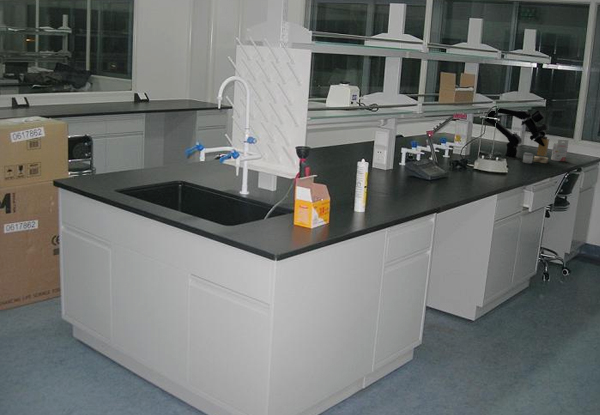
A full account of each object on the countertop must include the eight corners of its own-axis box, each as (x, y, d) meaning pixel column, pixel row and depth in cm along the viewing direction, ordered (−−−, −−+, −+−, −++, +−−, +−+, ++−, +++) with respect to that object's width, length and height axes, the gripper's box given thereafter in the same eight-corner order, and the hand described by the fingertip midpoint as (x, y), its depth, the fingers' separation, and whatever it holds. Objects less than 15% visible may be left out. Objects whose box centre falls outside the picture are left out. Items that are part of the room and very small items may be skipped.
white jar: (522, 162, 459) (523, 153, 458) (522, 161, 465) (524, 152, 463) (531, 163, 457) (533, 154, 456) (532, 162, 463) (533, 153, 461)
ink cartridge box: (560, 159, 486) (564, 139, 482) (565, 161, 481) (569, 140, 477) (550, 159, 483) (554, 138, 480) (554, 160, 479) (558, 139, 475)
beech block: (533, 162, 468) (533, 157, 467) (533, 160, 476) (534, 155, 475) (547, 164, 465) (547, 159, 464) (547, 162, 473) (548, 157, 472)
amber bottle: (536, 154, 468) (540, 136, 465) (538, 154, 473) (542, 135, 469) (544, 156, 466) (547, 137, 463) (546, 155, 470) (549, 137, 467)
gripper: (538, 120, 458) (551, 140, 455) (546, 119, 473) (559, 137, 470) (524, 130, 464) (537, 149, 461) (532, 128, 479) (545, 147, 476)
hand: (545, 145), depth 467 cm, fingers closed on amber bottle, 5 cm apart
